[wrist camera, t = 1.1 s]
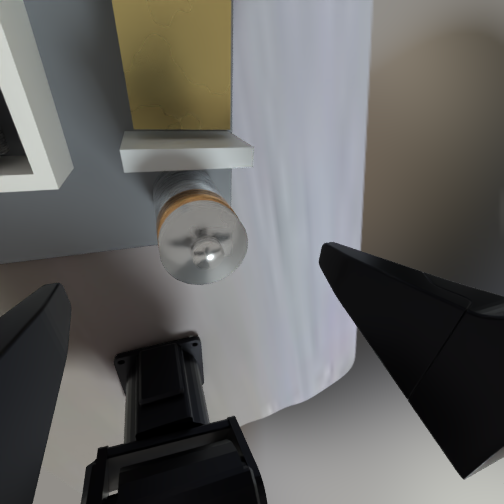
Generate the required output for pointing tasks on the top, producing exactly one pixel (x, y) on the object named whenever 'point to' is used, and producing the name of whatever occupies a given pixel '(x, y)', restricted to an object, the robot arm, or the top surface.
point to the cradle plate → (176, 62)
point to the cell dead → (3, 144)
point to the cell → (196, 228)
